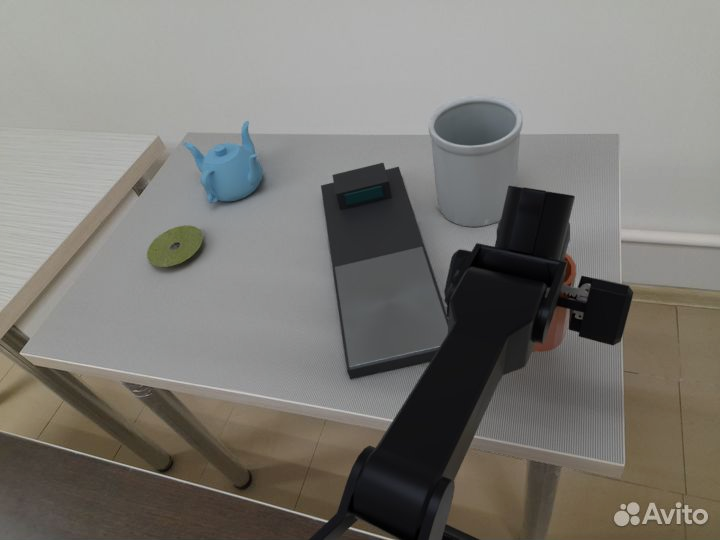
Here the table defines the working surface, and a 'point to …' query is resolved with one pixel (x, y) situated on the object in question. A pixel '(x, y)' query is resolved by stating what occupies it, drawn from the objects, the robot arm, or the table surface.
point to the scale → (381, 273)
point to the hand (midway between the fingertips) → (543, 289)
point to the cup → (559, 314)
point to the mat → (174, 246)
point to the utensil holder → (475, 157)
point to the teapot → (229, 169)
